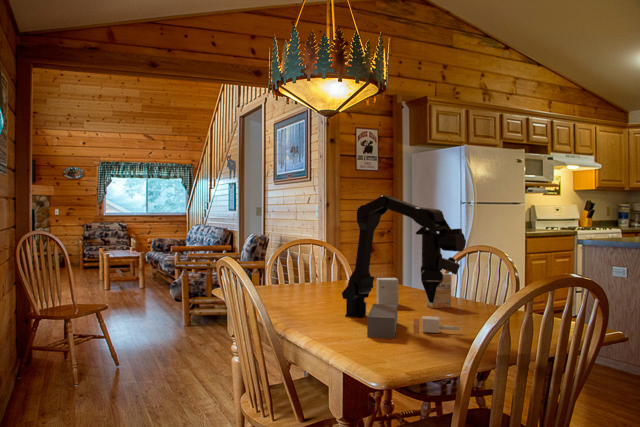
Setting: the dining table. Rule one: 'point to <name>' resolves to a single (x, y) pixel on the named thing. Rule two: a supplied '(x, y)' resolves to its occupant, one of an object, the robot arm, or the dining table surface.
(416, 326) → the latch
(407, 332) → the dining table surface
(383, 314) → the grey block
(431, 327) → the plug
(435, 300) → the supplement box
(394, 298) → the small box
